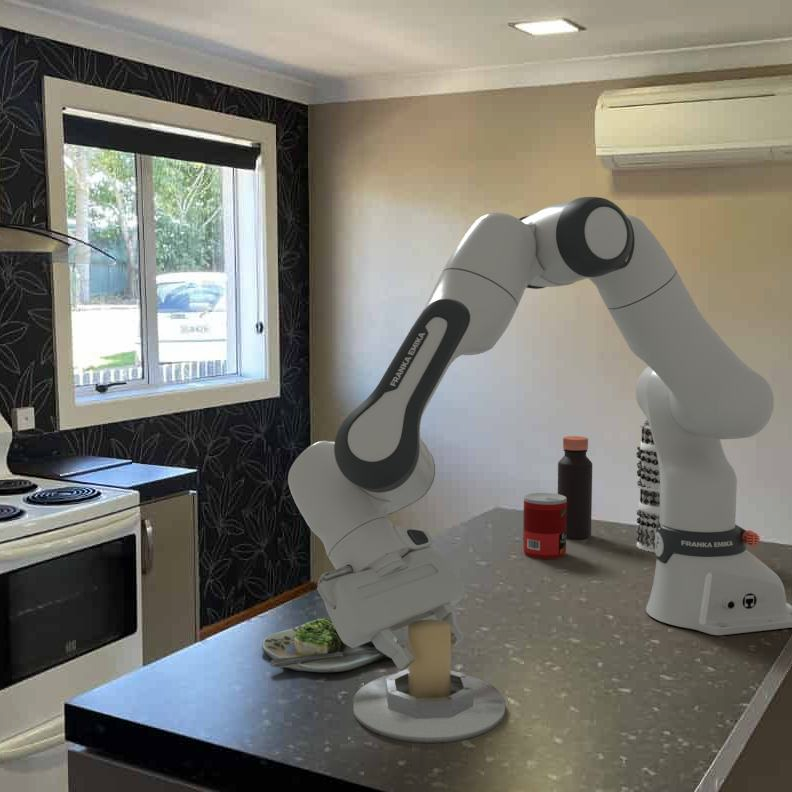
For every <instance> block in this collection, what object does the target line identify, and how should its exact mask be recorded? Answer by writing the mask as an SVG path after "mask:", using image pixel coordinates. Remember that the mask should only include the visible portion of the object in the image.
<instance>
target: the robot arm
mask: <svg viewBox="0 0 792 792" xmlns="http://www.w3.org/2000/svg"><path fill="white" fill-rule="evenodd" d="M587 279H588V280H590V281H591V282H592V283H593V284H594V285H595V287H596V289H597V290H598V293H599V295H600V297H601V299H602V301H603V303H604V305H605V307H606V309H607V310H608V312H609V314H610V316H611V317H612V319H613V321H614V323H615V324H616V327H617V328H618V330H619V332H620V333H621V335H622V337H623V339H624V341H625V342H626V344H627V345H628V348H629V349H630V351H631V352H632V353H633V354H634V355H635V356H636V357H638V358H639V359H640V360H642V362H644V363H645V364H646V365H647V367H645V369H643V371H642V372H641V373H640V374H639V375H640V376H639V377H638V379H637V382H636V387H635V397H636V402H637V404H638V407H639V409H641V411H642V413H643V414H644V416H645V417H646V420H648V423H649V425H650V429H651V432H652V436H653V441H654V445H655V449H656V454H657V459H658V464H659V474H660V511H659V520H658V521H657V523H656V533H655V552H654V553H655V558H656V563H655V572H654V577H653V582H652V588H651V591H650V593H649V599H648V602H647V604H646V607H645V611H646V613H647V614H648V615H649V616H650V617H652V618H653V619H655V620H657V621H659V622H662V623H665V624H668V625H671V626H676V627H680V628H685V629H691V630H695V631H699V632H703V633H705V634H708V635H713V636H725V635H735V634H742V633H743V634H744V633H745V634H746V633H754V632H762V631H771V630H779V629H788V628H792V605H791V604H790V603H788V602H787V597H786V591H785V586H784V583H783V582H782V579H781V578H780V577H779V576H778V574H777V573H776V572H774V571H773V569H771V568H770V567H768V566H767V565H766V564H765V563H764V562H763V561H761V560H760V559H759V558H758V557H756V556H755V555H754V554H752V553H751V552H750V551H748V549H747V547H746V546H747V545H748V546H750V547H756V546H758V545H759V544H760V541H761V536H760V535H759V534H758V533H757V532H754V531H753V530H750V529H749V530H746V529H744V528H743V527H740V526H739V525H737V524H736V514H737V513H736V511H737V509H736V508H737V490H738V489H737V486H738V485H737V484H738V479H737V475H736V472H735V469H734V468H733V466H732V464H731V463H730V462H729V461H728V459H727V456H726V454H725V452H724V450H723V446H722V442H721V440H736V439H746V438H751V437H753V436H755V435H757V434H759V433H760V432H762V431H763V430H764V429H765V427H766V426H767V425H768V423H769V421H770V420H771V417H772V414H773V412H774V406H775V405H774V404H775V403H774V402H775V401H774V400H775V399H774V393H773V390H772V387H771V385H770V383H769V382H768V381H767V380H766V379H765V377H763V376H762V375H761V374H759V373H757V372H756V371H755V370H754V369H752V368H751V367H749V366H748V365H747V364H746V363H745V362H744V361H742V360H741V359H740V358H739V356H737V355H736V353H735V352H734V351H733V350H732V349H731V348H730V347H729V345H728V344H727V343H726V342H725V341H724V340H723V339H722V337H720V335H718V333H717V332H716V331H715V330H714V329H713V327H712V326H711V325H710V324H709V323H708V322H707V320H706V319H705V317H704V316H703V315H702V313H701V311H700V310H699V308H698V307H697V305H696V303H695V302H694V299H693V298H692V296H691V294H690V293H689V290H688V289H687V287H686V285H685V283H684V281H683V280H682V278H681V276H680V274H679V272H678V271H677V269H676V267H675V265H674V263H673V261H672V259H671V258H670V256H669V255H668V253H667V251H666V250H665V248H664V247H663V246H662V244H661V243H660V241H659V240H658V238H656V236H655V235H654V233H653V232H652V231H651V229H649V227H648V226H647V225H646V224H645V223H644V222H643V221H642V220H641V219H640V218H638V217H636V216H633V215H630V214H625V212H624V211H623V210H622V208H621V207H619V206H618V205H617V204H616V203H614V202H613V201H611V200H609V199H607V198H604V197H600V196H599V197H597V196H582V197H578V198H576V199H573V200H570V201H563V202H558V203H555V204H551V205H548V206H546V207H544V208H542V209H541V210H537V211H536V212H534V213H532V214H530V215H526V216H522V217H519V218H518V217H515V216H513V215H511V214H509V213H505V212H504V213H503V212H490V213H487V214H484V215H481V216H480V217H479V218H477V219H476V220H475V221H474V222H473V224H472V225H471V226H470V227H469V228H468V230H467V232H466V233H465V234H464V235H463V237H462V238H461V239H460V241H459V243H458V244H457V246H456V247H455V249H454V250H453V252H452V254H451V255H450V257H449V259H448V261H447V262H446V263H445V266H444V268H443V270H442V272H441V274H440V276H439V277H438V280H437V282H436V284H435V285H434V288H433V291H432V292H431V294H430V297H429V298H428V300H427V303H426V304H425V306H424V308H423V310H422V311H421V313H420V315H419V316H418V317H417V319H416V320H415V322H414V323H413V325H412V327H411V328H410V329H409V332H408V333H407V335H406V336H405V338H404V340H403V342H402V343H401V345H400V347H399V348H398V350H397V352H396V354H395V355H394V357H393V359H392V360H391V362H390V364H389V365H388V368H387V369H386V370H385V372H384V374H383V376H382V378H380V381H379V382H378V384H377V386H376V387H375V389H374V390H373V391H372V392H371V393H370V395H369V396H368V397H367V398H366V399H365V400H363V402H361V404H359V405H358V406H357V407H356V408H355V409H354V410H352V411H351V412H350V413H349V414H348V415H347V416H346V417H345V419H344V420H343V421H342V423H341V425H340V427H339V428H338V430H337V432H336V435H335V439H334V441H330V440H329V441H328V440H320V441H317V442H315V443H313V444H311V445H309V446H308V447H306V448H305V449H304V450H303V451H302V452H301V453H300V454H299V455H298V456H297V457H296V458H295V460H294V461H293V463H292V465H291V466H290V469H289V471H288V476H287V484H288V487H289V490H290V494H291V495H292V498H293V500H294V503H295V504H296V507H297V509H298V510H299V513H300V514H301V516H302V517H303V519H304V520H305V523H306V524H307V526H308V527H309V529H310V531H311V532H312V533H314V535H316V536H317V537H318V538H319V539H320V541H321V542H322V543H323V545H324V548H325V553H326V555H327V557H328V559H329V561H330V563H331V564H332V566H333V567H334V568H335V569H334V570H332V571H329V570H328V571H326V572H324V573H322V574H321V575H320V577H319V579H318V581H317V588H316V589H317V592H318V594H319V595H320V597H321V598H322V600H323V602H324V606H325V609H326V612H327V613H328V616H329V618H330V619H331V621H332V623H333V625H334V627H335V629H336V631H337V633H338V635H339V637H340V639H341V640H342V642H343V643H345V644H346V645H348V646H349V647H351V648H355V647H357V646H360V645H362V644H365V643H367V642H370V641H372V643H373V644H374V646H375V647H376V649H378V650H379V651H381V652H382V653H384V654H385V655H387V656H388V657H387V658H390V659H391V660H392V662H393V664H394V665H395V666H396V668H397V669H398V670H404V669H406V668H409V665H411V663H413V662H414V660H415V659H414V656H413V655H412V654H411V651H410V650H409V648H408V646H405V648H402V647H401V645H400V644H399V643H398V644H397V643H396V642H395V641H394V640H393V639H392V638H391V637H392V636H393V635H394V634H393V633H394V632H398V630H401V629H403V628H406V627H408V626H409V624H411V623H413V622H415V621H419V620H427V619H428V618H431V617H433V616H435V618H436V620H439V621H443V622H446V623H448V624H449V625H450V626H451V647H453V646H455V645H459V643H461V642H462V641H463V640H464V638H465V636H464V633H463V632H462V630H461V629H460V627H459V626H458V618H457V617H458V616H457V612H456V609H455V608H454V607H455V605H457V604H458V603H459V602H460V601H461V600H462V599H463V598H464V597H465V596H466V589H465V588H466V587H465V584H464V583H463V580H462V579H461V577H460V576H459V574H458V572H457V571H456V569H455V568H454V567H453V565H452V564H451V563H450V561H449V560H448V558H447V557H446V556H445V555H444V554H443V553H442V552H441V550H439V549H437V548H436V547H432V545H433V544H434V538H433V537H432V535H431V533H430V532H429V531H428V530H425V529H421V528H412V527H411V528H410V527H404V526H401V525H397V524H395V525H393V523H391V521H390V519H389V518H388V517H387V516H390V515H391V514H394V513H396V512H399V511H400V510H402V509H404V508H406V507H408V506H410V505H412V504H414V503H416V502H418V501H419V500H421V499H422V498H423V497H424V496H425V495H426V494H427V493H428V491H429V490H430V489H431V487H432V485H433V482H434V480H435V475H436V464H435V460H434V457H433V455H432V453H431V451H430V450H429V448H428V447H427V445H426V444H425V442H424V441H423V440H422V438H421V423H422V418H423V415H424V413H425V411H426V409H427V407H428V405H429V404H430V402H431V400H432V398H433V396H434V394H435V393H436V391H437V389H438V387H439V385H440V383H441V382H442V380H443V379H444V376H445V374H446V372H447V371H448V369H449V367H450V366H451V364H452V363H453V362H455V360H456V359H457V358H459V357H461V356H474V355H480V354H484V353H485V352H488V351H489V350H491V349H493V348H494V347H495V346H496V344H497V343H498V341H499V340H500V339H501V337H502V336H503V334H504V333H505V332H506V330H507V329H508V327H509V325H510V323H511V321H512V319H513V318H514V315H515V313H516V311H517V309H518V307H519V304H520V302H521V300H522V298H523V296H524V292H525V290H526V289H533V290H539V289H545V288H553V287H562V286H568V285H572V284H575V283H577V282H579V281H580V282H581V281H583V280H587Z"/></svg>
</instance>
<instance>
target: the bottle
mask: <svg viewBox="0 0 792 792" xmlns="http://www.w3.org/2000/svg"><path fill="white" fill-rule="evenodd" d="M562 448H563V450H562V451H563V452H564V455H563V456H562V458H560V460H559V461H558V462H557V494H560V495H563V496H565V497H566V498H567V524H566V540H585V539H588V538H591V536H592V514H593V513H592V511H593V507H592V505H593V500H592V499H593V497H592V496H593V462H592V461H591V460H590V459H589V458H588V456H587V453H588V449H589V438H588V437H585V436H576V435H574V436H573V435H572V436H571V435H570V436H569V435H568V436H564V437H563V439H562Z"/></svg>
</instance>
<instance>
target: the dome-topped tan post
mask: <svg viewBox="0 0 792 792" xmlns="http://www.w3.org/2000/svg"><path fill="white" fill-rule="evenodd" d="M407 629H408V632H407V633H408V634H407V635H408V642H407V643H408V644H407V645H408V646H407V647H408V648H409V650H410V651H411V654H412V655H413V656H414V659H415V660H414V662H413V663H411V665H409V666H408V668H409V695H411V696H413V697H416V698H440V697H449V696H451V667H452V665H451V658H452V657H451V654H452V653H451V652H452V651H451V650H452V649H451V647H452V646H451V626H450V625H449V624H448V623H446V622H443V621H439V620H437V619H424V620H419V621H415V622H413V623H411V624H409V626H407Z"/></svg>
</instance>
